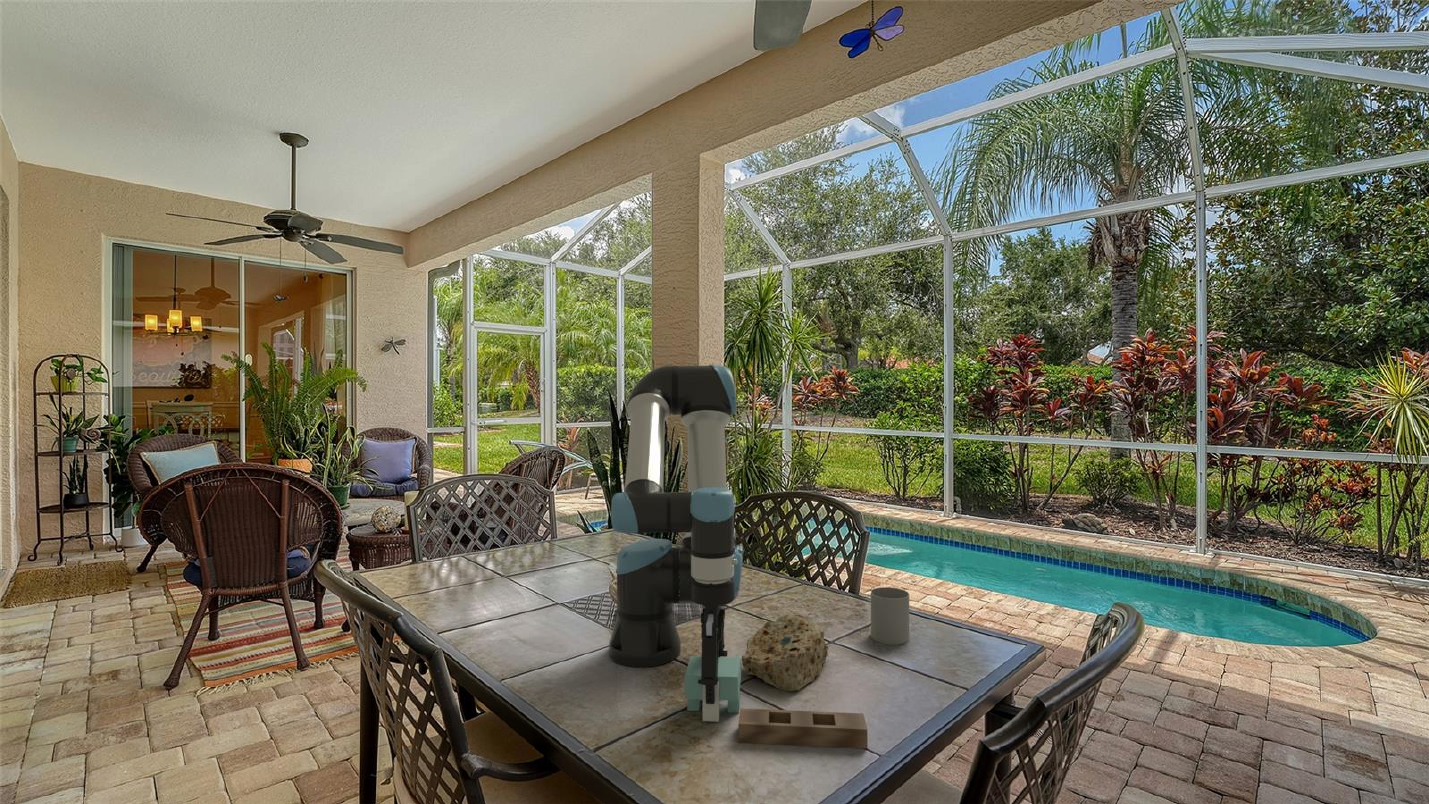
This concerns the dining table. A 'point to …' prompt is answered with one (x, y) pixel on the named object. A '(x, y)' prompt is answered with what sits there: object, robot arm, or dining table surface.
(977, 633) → the dining table surface
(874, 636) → the cup
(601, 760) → the dining table surface
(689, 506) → the robot arm
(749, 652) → the rock
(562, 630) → the dining table surface
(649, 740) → the dining table surface
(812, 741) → the rail
